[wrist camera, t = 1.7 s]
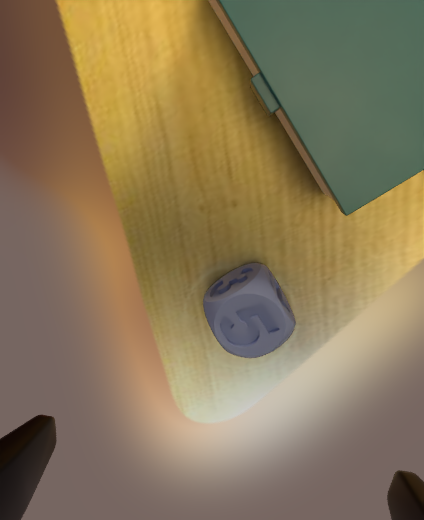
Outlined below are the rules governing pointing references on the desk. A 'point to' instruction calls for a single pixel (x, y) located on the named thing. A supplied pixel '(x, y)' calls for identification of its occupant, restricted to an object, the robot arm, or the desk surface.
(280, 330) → the decorative dice
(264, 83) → the box
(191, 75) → the desk surface
